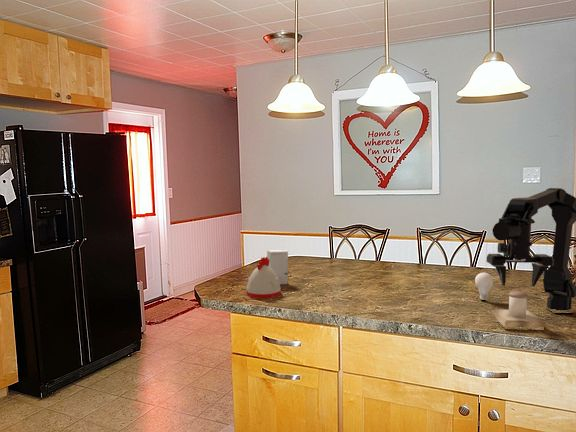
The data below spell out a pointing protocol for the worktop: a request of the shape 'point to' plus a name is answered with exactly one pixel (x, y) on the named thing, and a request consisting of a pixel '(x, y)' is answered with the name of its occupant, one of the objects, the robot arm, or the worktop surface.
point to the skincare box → (279, 264)
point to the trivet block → (517, 319)
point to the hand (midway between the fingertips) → (518, 286)
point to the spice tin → (517, 304)
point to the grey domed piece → (263, 281)
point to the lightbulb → (483, 284)
